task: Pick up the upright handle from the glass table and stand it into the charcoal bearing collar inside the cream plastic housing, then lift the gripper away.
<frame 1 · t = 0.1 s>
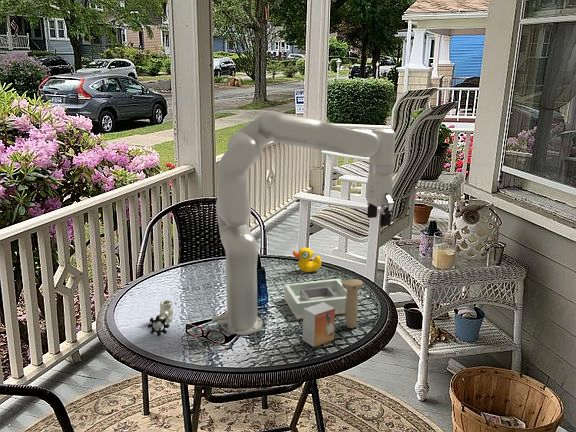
hand: (378, 221, 170), 31 cm above the table, tool pointing down, fingers open, 9 cm apart
duckling: (307, 272, 212), on the table
housing: (318, 305, 182), on the table
handle: (350, 326, 168), on the table
small box: (318, 340, 159), on the table
valve: (163, 327, 167), on the table
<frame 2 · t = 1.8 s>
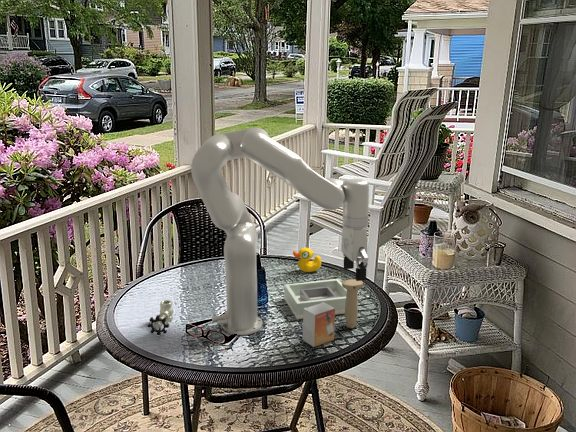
hand: (354, 274, 163), 18 cm above the table, tool pointing down, fingers open, 9 cm apart
nothing on the table moved.
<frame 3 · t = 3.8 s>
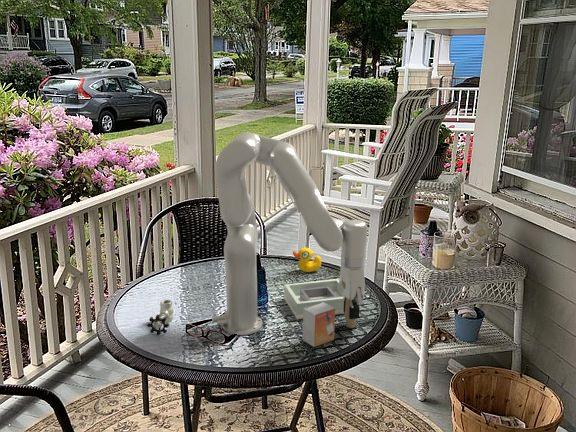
hand: (351, 314, 167), 4 cm above the table, tool pointing down, fingers closed on handle, 3 cm apart
handle: (350, 326, 168), on the table, touching gripper
everything else where it was.
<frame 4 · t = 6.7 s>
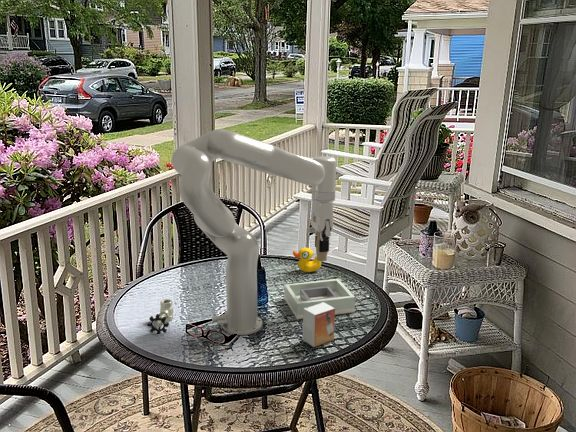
hand: (321, 248, 175), 21 cm above the table, tool pointing down, fingers closed on handle, 3 cm apart
handle: (321, 261, 176), point 17 cm above the table, touching gripper
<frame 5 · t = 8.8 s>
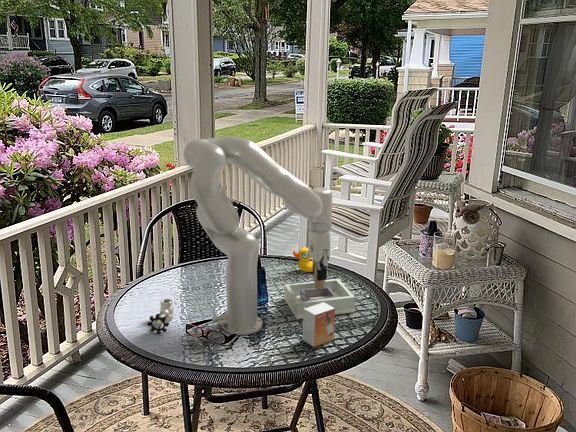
hand: (319, 276, 179), 11 cm above the table, tool pointing down, fingers closed on handle, 3 cm apart
handle: (319, 288, 181), point 6 cm above the table, touching gripper
when the fingers open (7 cm above the table, at t = 9.8 s): handle drops 1 cm, resting on housing.
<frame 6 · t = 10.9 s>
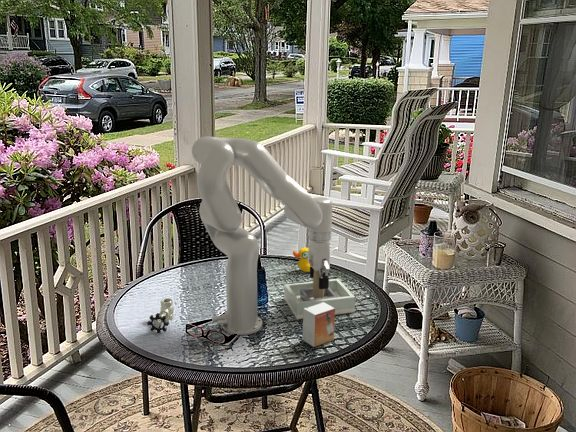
hand: (318, 282, 180), 8 cm above the table, tool pointing down, fingers open, 9 cm apart
handle: (318, 301, 182), point 1 cm above the table, touching housing
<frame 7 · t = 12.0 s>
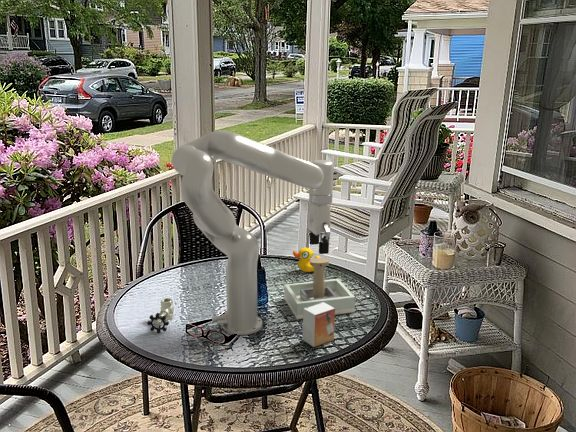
hand: (318, 248, 176), 21 cm above the table, tool pointing down, fingers open, 9 cm apart
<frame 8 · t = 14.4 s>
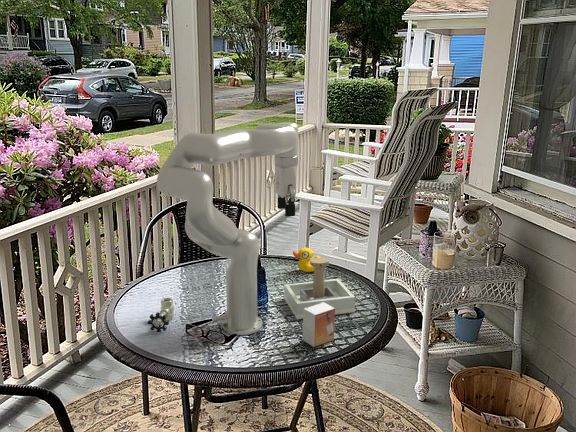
hand: (286, 212, 176), 32 cm above the table, tool pointing down, fingers open, 9 cm apart
at the end: handle 0.1 cm off-centre on the housing, point 1.3 cm above the housing's base; handle tilted 0°; the gripper is holding nothing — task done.
